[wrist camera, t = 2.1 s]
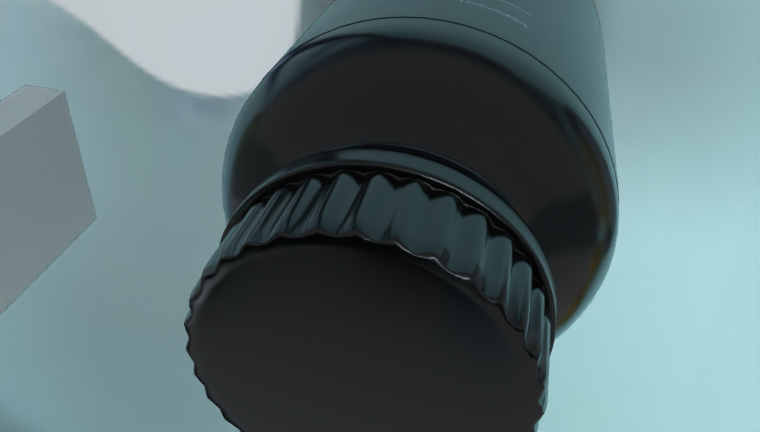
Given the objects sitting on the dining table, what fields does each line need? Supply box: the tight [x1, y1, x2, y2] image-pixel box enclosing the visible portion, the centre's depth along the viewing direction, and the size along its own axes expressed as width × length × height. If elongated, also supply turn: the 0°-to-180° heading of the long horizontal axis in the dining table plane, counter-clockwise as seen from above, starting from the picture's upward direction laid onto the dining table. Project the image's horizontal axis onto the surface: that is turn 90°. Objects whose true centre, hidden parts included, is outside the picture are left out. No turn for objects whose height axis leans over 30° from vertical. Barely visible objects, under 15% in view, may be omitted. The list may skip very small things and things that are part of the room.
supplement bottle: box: [184, 0, 619, 432], centre depth 14 cm, size 7×7×12 cm
